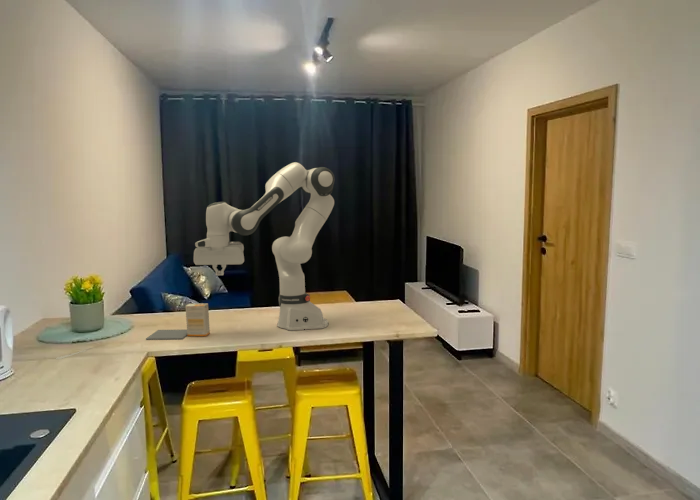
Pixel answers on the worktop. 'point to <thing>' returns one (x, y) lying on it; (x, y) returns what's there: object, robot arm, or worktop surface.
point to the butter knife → (68, 355)
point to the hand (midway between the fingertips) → (219, 275)
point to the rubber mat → (168, 335)
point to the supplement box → (197, 319)
